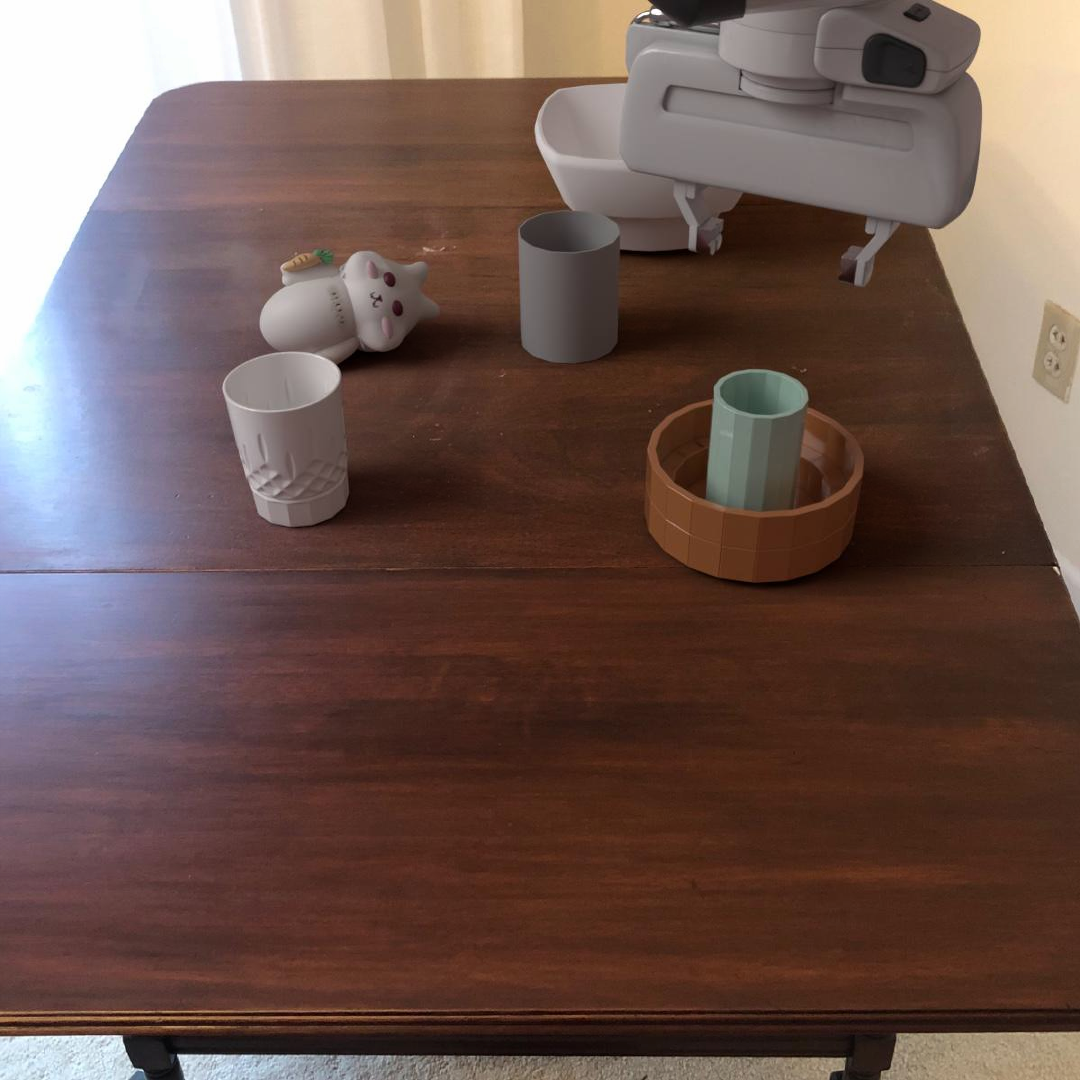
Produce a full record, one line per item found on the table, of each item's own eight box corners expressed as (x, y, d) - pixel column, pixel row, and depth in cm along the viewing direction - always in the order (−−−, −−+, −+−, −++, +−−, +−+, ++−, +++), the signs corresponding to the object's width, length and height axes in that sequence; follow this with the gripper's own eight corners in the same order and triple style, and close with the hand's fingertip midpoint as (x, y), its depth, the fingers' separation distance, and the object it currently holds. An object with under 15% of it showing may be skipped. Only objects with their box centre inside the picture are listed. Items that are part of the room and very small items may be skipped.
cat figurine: (239, 264, 97) (421, 220, 99) (246, 274, 105) (415, 233, 107) (272, 381, 99) (451, 335, 101) (277, 382, 107) (443, 340, 109)
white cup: (227, 522, 86) (200, 401, 80) (278, 461, 92) (256, 344, 86) (329, 541, 84) (309, 419, 78) (374, 478, 90) (359, 359, 84)
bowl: (770, 283, 114) (784, 162, 107) (533, 284, 114) (531, 164, 107) (744, 190, 131) (754, 80, 124) (538, 191, 132) (537, 82, 125)
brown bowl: (893, 529, 85) (908, 457, 81) (754, 619, 77) (763, 545, 74) (740, 443, 93) (747, 375, 89) (603, 517, 86) (604, 446, 82)
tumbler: (808, 518, 85) (827, 394, 78) (750, 554, 82) (764, 428, 75) (744, 480, 88) (757, 359, 82) (685, 513, 85) (694, 390, 79)
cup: (635, 347, 105) (639, 238, 99) (552, 373, 102) (551, 262, 96) (583, 308, 111) (584, 202, 105) (504, 331, 108) (500, 223, 101)
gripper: (601, 13, 66) (598, 251, 75) (982, 64, 58) (930, 325, 67) (652, -14, 71) (644, 214, 79) (1013, 30, 62) (961, 279, 71)
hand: (777, 265), depth 73 cm, fingers open, 8 cm apart
